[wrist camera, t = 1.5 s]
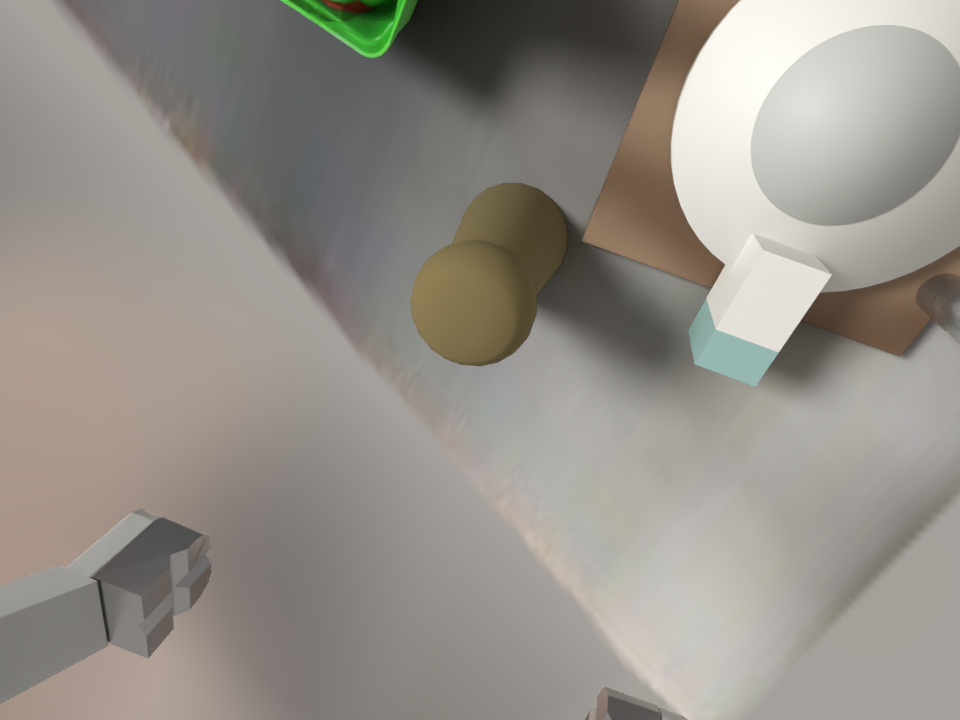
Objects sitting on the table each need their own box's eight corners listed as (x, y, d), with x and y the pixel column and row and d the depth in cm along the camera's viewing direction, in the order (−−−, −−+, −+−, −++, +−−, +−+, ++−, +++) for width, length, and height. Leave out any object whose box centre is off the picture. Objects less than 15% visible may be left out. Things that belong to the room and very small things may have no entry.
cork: (537, 161, 29) (493, 217, 19) (586, 264, 31) (567, 360, 21) (441, 213, 31) (360, 285, 22) (492, 305, 33) (438, 406, 24)
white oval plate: (776, -129, 21) (802, -160, 17) (1154, -7, 20) (1251, -16, 17) (590, 294, 30) (585, 323, 27) (842, 387, 29) (867, 428, 26)
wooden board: (752, -182, 21) (758, -194, 20) (1204, -38, 20) (1234, -43, 19) (583, 235, 30) (581, 241, 29) (891, 347, 29) (901, 358, 28)
